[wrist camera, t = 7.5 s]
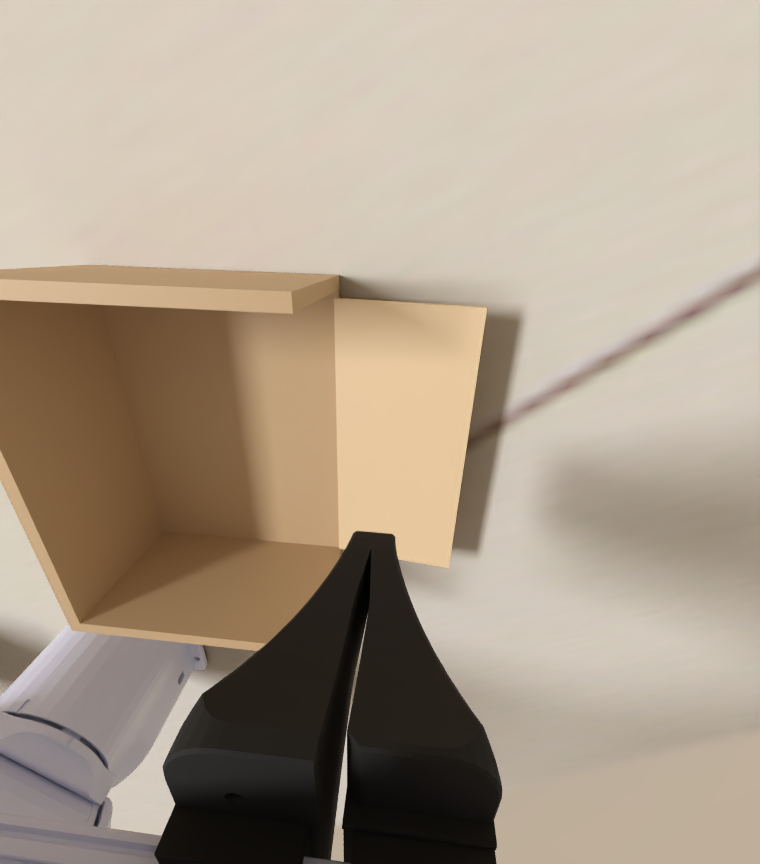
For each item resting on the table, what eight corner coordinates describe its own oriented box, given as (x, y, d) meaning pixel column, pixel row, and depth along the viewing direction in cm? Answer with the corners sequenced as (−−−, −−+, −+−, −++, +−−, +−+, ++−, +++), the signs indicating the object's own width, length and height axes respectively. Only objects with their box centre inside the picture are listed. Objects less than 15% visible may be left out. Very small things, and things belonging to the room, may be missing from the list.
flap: (341, 544, 23) (449, 563, 22) (339, 548, 23) (448, 568, 22) (336, 297, 17) (487, 306, 16) (333, 299, 17) (487, 308, 16)
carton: (343, 547, 24) (315, 657, 18) (161, 531, 25) (71, 630, 19) (339, 275, 17) (291, 291, 11) (87, 264, 18) (-98, 274, 12)
